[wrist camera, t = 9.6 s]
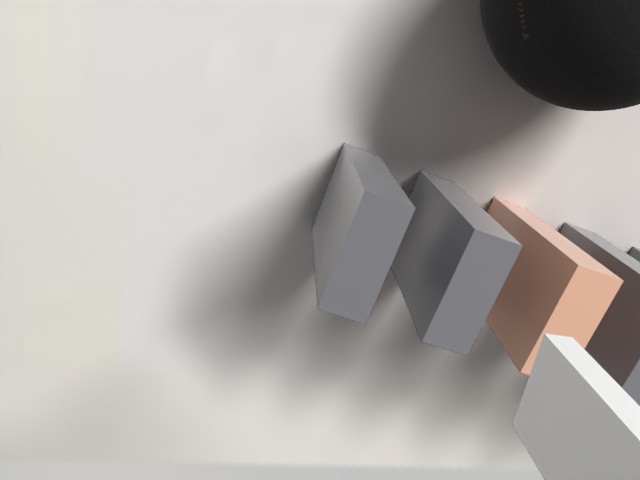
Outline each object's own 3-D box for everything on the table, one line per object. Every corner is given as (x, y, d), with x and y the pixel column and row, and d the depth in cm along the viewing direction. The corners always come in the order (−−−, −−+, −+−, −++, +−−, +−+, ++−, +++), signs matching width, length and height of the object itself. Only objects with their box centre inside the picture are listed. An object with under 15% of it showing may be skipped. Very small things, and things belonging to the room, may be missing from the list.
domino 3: (456, 276, 33) (520, 372, 23) (494, 196, 31) (578, 265, 22) (487, 287, 33) (563, 386, 24) (526, 208, 32) (623, 280, 22)
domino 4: (524, 299, 33) (613, 401, 24) (564, 222, 32) (676, 299, 23) (554, 309, 34) (654, 414, 24) (596, 233, 32) (718, 314, 23)
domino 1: (312, 228, 32) (317, 309, 22) (344, 142, 30) (365, 190, 21) (345, 239, 32) (365, 324, 22) (379, 155, 30) (415, 208, 21)
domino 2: (385, 252, 32) (421, 341, 23) (420, 170, 31) (475, 229, 21) (418, 263, 32) (467, 356, 23) (454, 182, 31) (522, 245, 22)
